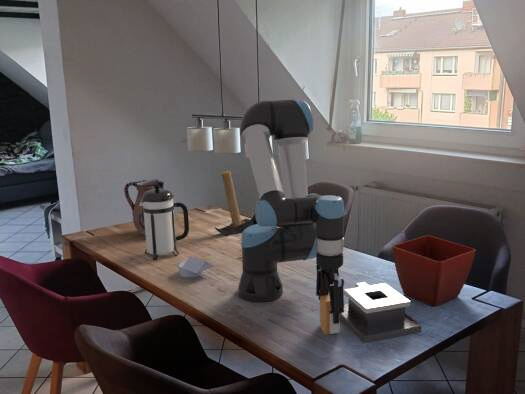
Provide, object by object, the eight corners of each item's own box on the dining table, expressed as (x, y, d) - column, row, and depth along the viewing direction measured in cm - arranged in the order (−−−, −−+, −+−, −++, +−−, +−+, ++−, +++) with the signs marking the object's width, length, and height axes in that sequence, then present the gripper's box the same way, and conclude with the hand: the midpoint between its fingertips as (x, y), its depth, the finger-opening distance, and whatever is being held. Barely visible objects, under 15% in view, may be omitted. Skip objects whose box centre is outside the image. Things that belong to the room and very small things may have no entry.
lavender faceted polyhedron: (215, 274, 196) (192, 266, 205) (214, 257, 195) (191, 250, 203) (197, 282, 190) (174, 273, 198) (196, 264, 188) (173, 256, 197)
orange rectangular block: (325, 334, 150) (325, 301, 148) (320, 328, 154) (320, 296, 151) (338, 332, 151) (338, 299, 149) (332, 325, 155) (332, 294, 152)
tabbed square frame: (364, 342, 145) (365, 314, 143) (333, 312, 163) (333, 286, 161) (421, 331, 150) (422, 304, 148) (385, 303, 168) (385, 278, 166)
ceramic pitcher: (169, 238, 240) (165, 185, 234) (122, 240, 239) (118, 186, 233) (174, 227, 257) (171, 177, 251) (131, 228, 256) (127, 178, 250)
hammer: (221, 241, 241) (207, 179, 231) (216, 238, 245) (202, 178, 235) (258, 226, 250) (246, 166, 240) (253, 224, 254) (241, 165, 244)
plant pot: (474, 297, 171) (477, 248, 167) (437, 314, 160) (440, 262, 156) (425, 280, 186) (427, 234, 182) (388, 294, 176) (390, 246, 172)
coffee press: (171, 262, 209) (166, 189, 202) (136, 258, 215) (130, 187, 207) (190, 248, 225) (186, 180, 218) (157, 245, 230) (152, 178, 223)
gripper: (358, 261, 139) (356, 340, 144) (327, 239, 157) (327, 310, 162) (332, 264, 137) (331, 345, 142) (304, 242, 155) (304, 314, 160)
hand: (329, 326), depth 152 cm, fingers open, 6 cm apart
